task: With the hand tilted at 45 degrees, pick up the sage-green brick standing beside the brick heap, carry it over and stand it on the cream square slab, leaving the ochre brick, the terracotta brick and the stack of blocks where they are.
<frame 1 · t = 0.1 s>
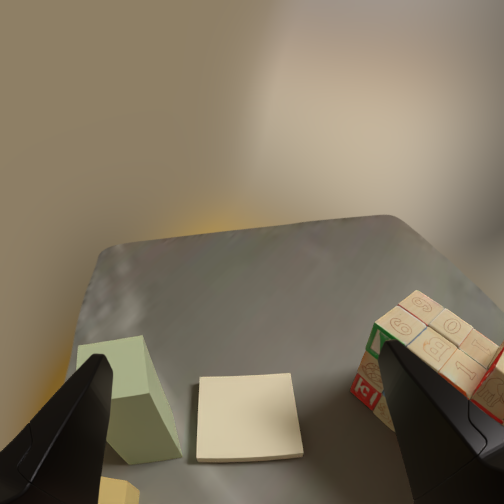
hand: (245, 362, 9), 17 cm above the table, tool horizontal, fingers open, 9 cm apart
stack of blocks: (446, 442, 20), on the table
cream square slab: (247, 422, 24), on the table
sage brick: (151, 438, 22), on the table
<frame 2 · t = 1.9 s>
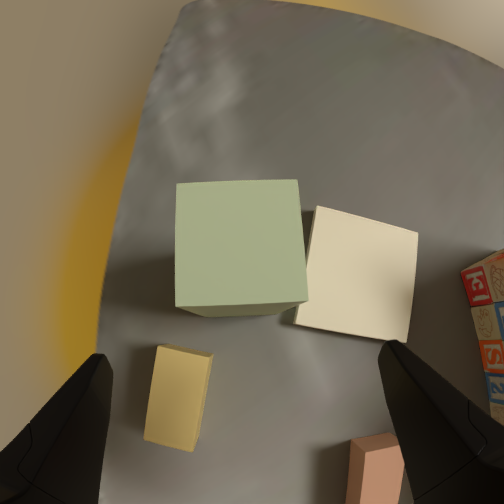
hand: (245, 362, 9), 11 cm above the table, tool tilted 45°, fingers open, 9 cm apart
terracotta brick: (366, 469, 18), on the table
ochre brick: (183, 391, 19), on the table
cream square slab: (356, 278, 22), on the table
sage brick: (239, 281, 21), on the table
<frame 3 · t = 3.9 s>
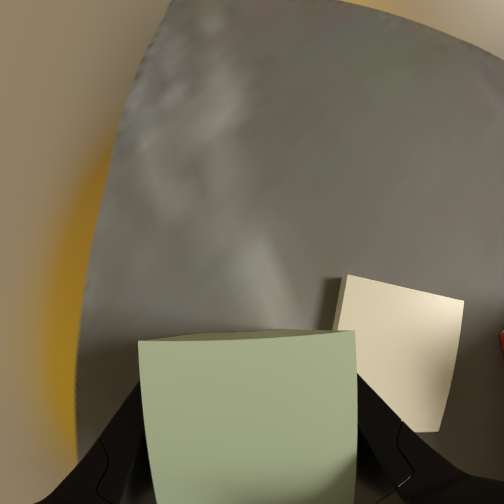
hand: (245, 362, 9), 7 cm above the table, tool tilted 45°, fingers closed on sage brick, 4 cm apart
cream square slab: (388, 359, 16), on the table
sage brick: (244, 374, 15), on the table, touching gripper
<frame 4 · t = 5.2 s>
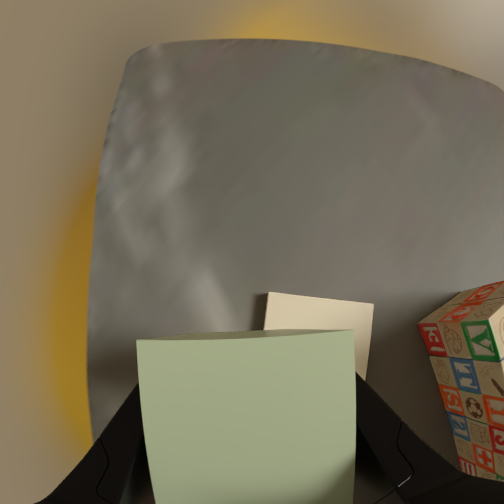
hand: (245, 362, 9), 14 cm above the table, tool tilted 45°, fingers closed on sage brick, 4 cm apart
stack of blocks: (469, 403, 22), on the table
cream square slab: (312, 352, 23), on the table
sage brick: (243, 374, 15), point 7 cm above the table, touching gripper
when the fingers open (9 cm above the table, at t = 6.9 s): sage brick drops 2 cm, point 1 cm above the table.
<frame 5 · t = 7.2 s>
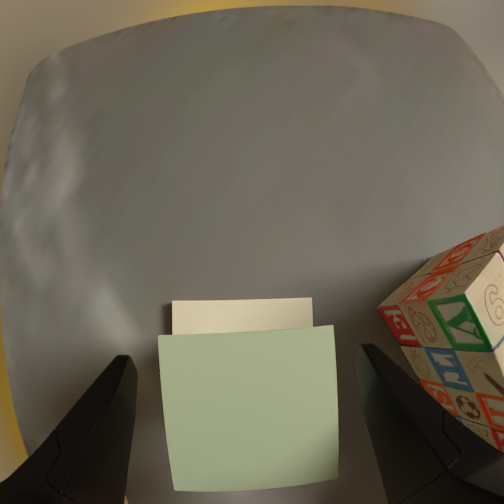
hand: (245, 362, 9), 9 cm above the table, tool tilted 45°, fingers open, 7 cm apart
stack of blocks: (466, 393, 18), on the table
cream square slab: (243, 366, 18), on the table
sage brick: (243, 371, 17), point 1 cm above the table
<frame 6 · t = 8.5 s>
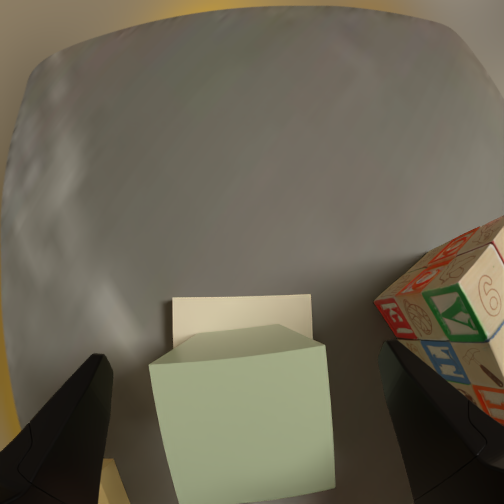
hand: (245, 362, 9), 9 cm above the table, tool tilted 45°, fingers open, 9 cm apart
stack of blocks: (464, 387, 18), on the table
ochre brick: (108, 492, 15), on the table
cream square slab: (243, 363, 19), on the table, touching sage brick
sage brick: (243, 367, 17), point 1 cm above the table, touching cream square slab
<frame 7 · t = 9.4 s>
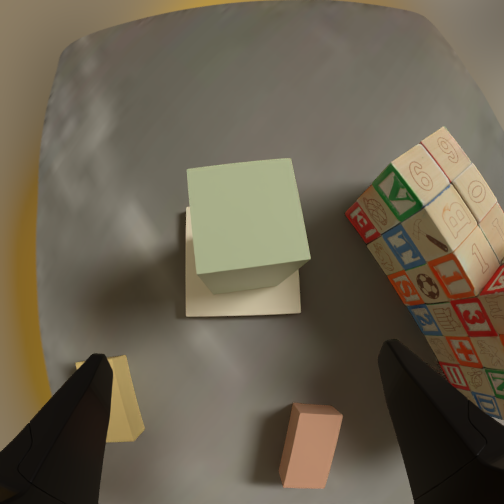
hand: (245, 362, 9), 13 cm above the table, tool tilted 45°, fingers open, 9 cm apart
terracotta brick: (304, 439, 21), on the table
stack of blocks: (435, 299, 24), on the table
ochre brick: (118, 394, 21), on the table
cream square slab: (241, 262, 24), on the table, touching sage brick
sage brick: (240, 258, 23), point 1 cm above the table, touching cream square slab
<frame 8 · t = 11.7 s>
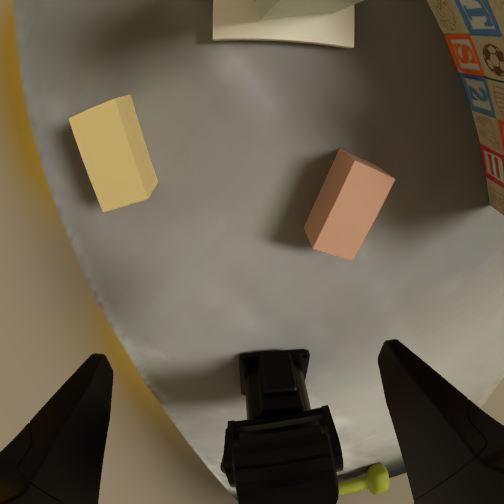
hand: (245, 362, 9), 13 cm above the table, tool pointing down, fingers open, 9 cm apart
terracotta brick: (339, 195, 21), on the table
stack of blocks: (485, 79, 16), on the table
dumbbell: (346, 471, 53), on the table
ochre brick: (123, 145, 18), on the table
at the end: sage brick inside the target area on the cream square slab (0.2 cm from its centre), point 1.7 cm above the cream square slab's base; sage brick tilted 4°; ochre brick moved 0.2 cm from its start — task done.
